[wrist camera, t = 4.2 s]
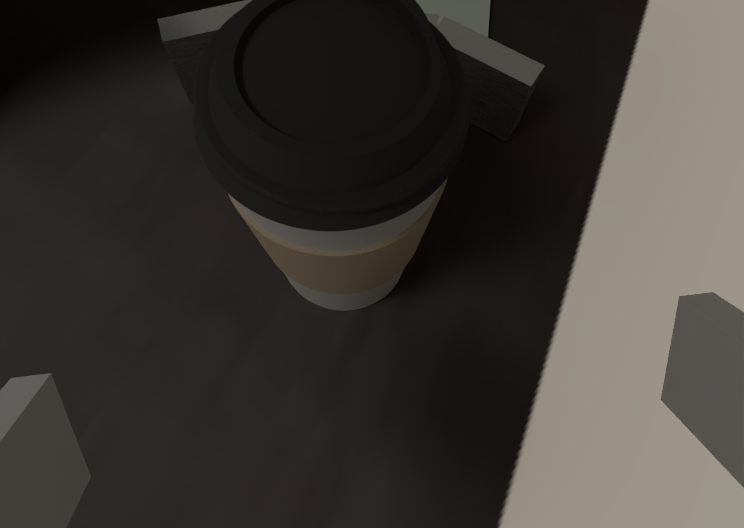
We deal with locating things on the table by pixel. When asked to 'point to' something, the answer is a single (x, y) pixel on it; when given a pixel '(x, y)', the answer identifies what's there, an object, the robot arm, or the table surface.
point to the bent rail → (476, 52)
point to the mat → (461, 12)
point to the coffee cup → (333, 136)
